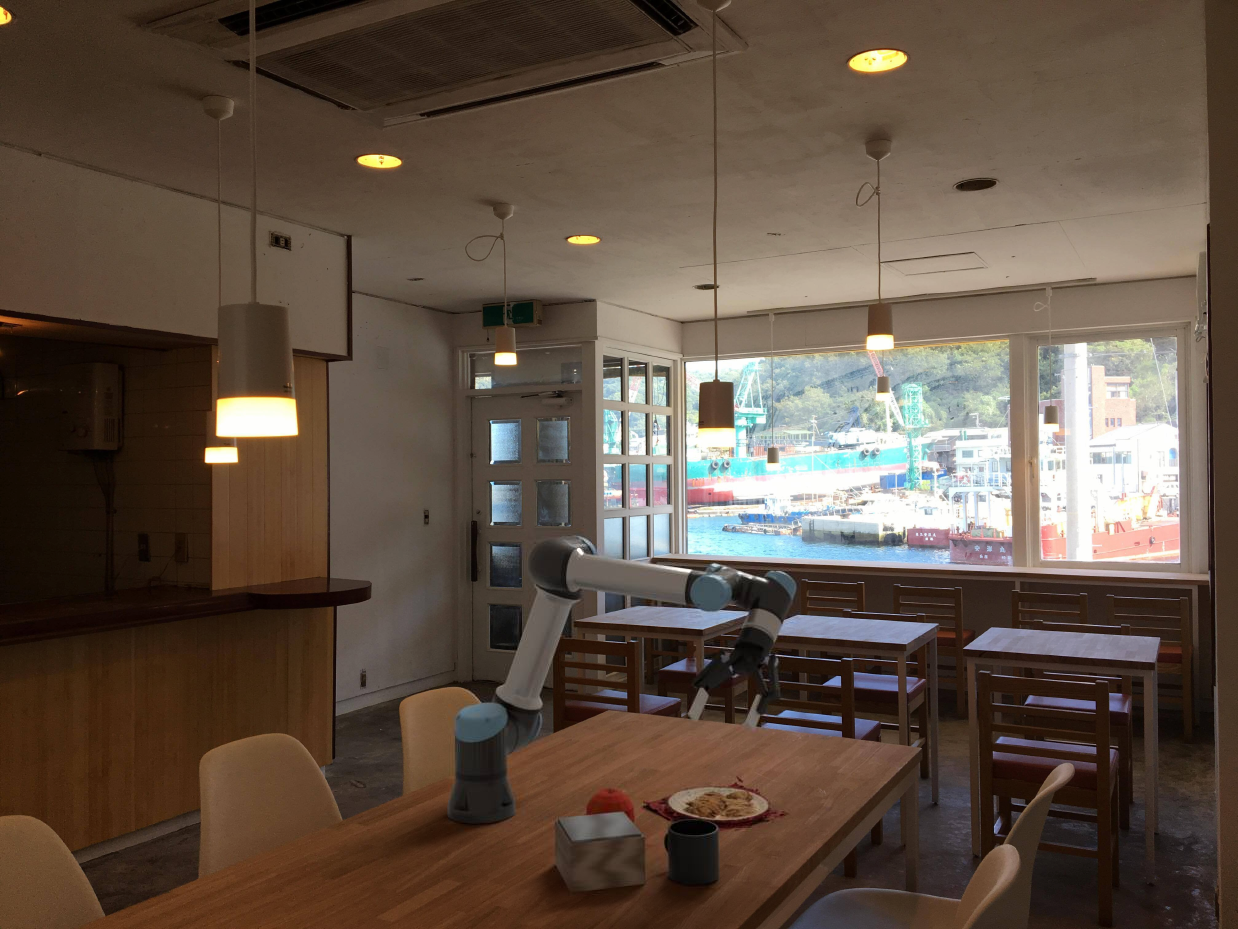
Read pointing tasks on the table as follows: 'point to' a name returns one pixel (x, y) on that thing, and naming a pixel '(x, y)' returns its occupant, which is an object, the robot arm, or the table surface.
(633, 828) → the grey square box
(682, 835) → the mug
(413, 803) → the table surface
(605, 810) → the apple
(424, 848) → the table surface
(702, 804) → the plate with food
